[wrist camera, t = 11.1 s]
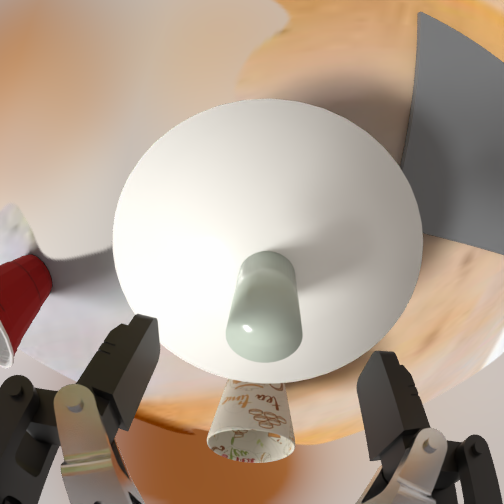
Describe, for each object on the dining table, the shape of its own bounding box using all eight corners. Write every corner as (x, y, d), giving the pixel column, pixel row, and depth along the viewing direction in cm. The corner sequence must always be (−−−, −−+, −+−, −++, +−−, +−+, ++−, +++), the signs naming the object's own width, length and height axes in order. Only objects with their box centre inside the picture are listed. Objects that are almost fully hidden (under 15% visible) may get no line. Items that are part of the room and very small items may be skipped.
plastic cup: (71, 257, 26) (0, 322, 15) (66, 322, 30) (19, 384, 19) (11, 218, 24) (-57, 262, 14) (13, 284, 29) (-38, 332, 18)
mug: (307, 366, 30) (313, 441, 21) (253, 414, 35) (247, 476, 26) (241, 339, 28) (229, 419, 19) (197, 394, 33) (182, 457, 24)
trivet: (544, 102, 13) (547, 102, 13) (513, 256, 22) (516, 258, 21) (417, 13, 14) (420, 11, 13) (385, 222, 22) (388, 225, 22)
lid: (448, 149, 13) (516, 168, 7) (358, 381, 21) (371, 439, 15) (123, 93, 13) (55, 86, 7) (133, 349, 21) (105, 404, 15)
